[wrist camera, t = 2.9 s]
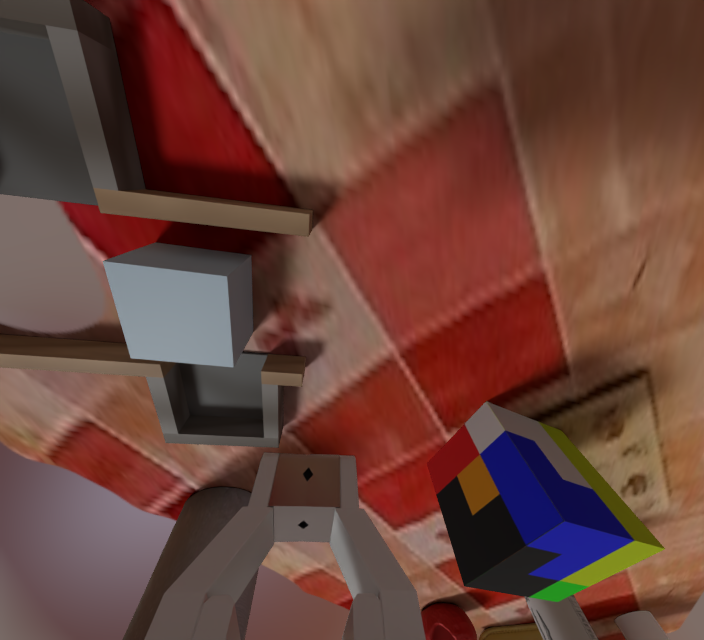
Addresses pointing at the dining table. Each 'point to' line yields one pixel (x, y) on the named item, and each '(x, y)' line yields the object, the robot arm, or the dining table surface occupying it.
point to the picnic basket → (512, 632)
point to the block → (183, 303)
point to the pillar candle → (192, 554)
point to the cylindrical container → (640, 626)
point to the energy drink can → (560, 619)
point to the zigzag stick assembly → (121, 199)
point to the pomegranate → (447, 623)
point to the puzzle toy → (531, 509)
